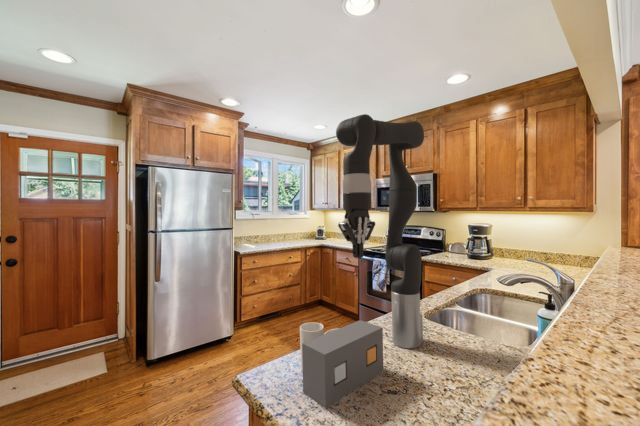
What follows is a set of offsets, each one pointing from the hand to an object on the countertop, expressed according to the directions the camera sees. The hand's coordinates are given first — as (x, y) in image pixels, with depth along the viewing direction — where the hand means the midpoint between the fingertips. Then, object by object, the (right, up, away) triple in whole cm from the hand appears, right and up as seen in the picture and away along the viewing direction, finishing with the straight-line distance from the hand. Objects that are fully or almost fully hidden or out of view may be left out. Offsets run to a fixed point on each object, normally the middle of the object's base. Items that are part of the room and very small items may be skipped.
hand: (358, 257), depth 75 cm
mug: (-13, -33, +6) cm, 36 cm away
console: (-3, -32, -1) cm, 32 cm away
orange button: (+2, -28, +1) cm, 28 cm away
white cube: (-6, -28, -7) cm, 29 cm away
